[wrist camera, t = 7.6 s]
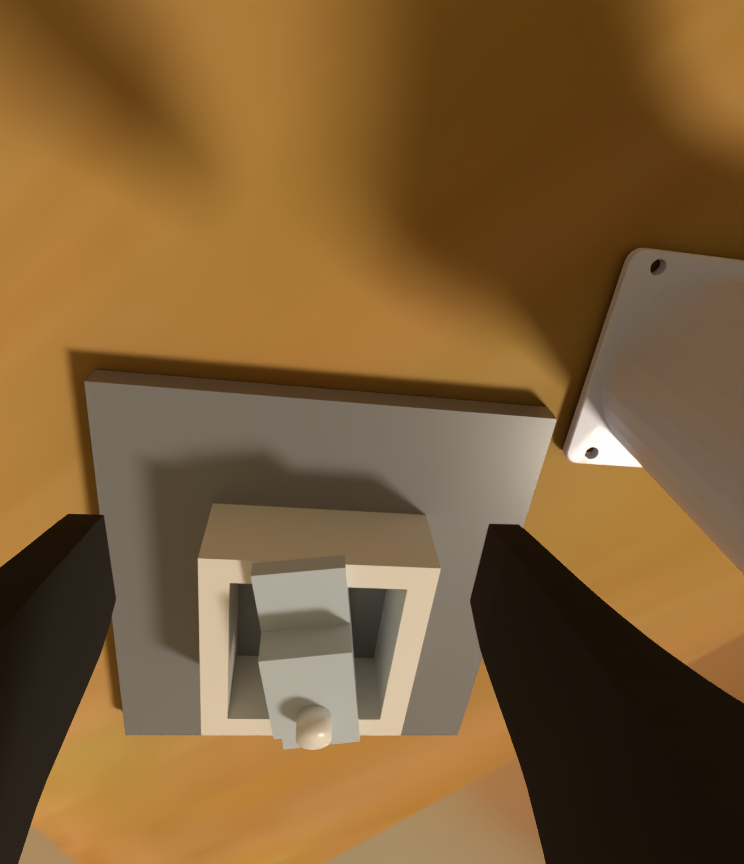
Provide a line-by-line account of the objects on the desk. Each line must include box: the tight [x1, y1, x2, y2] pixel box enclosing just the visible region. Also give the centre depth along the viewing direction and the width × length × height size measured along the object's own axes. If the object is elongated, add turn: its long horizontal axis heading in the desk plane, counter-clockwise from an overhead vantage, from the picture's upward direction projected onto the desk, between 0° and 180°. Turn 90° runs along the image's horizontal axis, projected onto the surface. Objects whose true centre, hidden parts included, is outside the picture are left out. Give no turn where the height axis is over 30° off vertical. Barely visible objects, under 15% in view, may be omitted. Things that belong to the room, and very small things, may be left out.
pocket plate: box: [84, 369, 557, 735], centre depth 23 cm, size 16×18×4 cm
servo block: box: [251, 555, 360, 750], centre depth 21 cm, size 3×9×6 cm, turn 2°
